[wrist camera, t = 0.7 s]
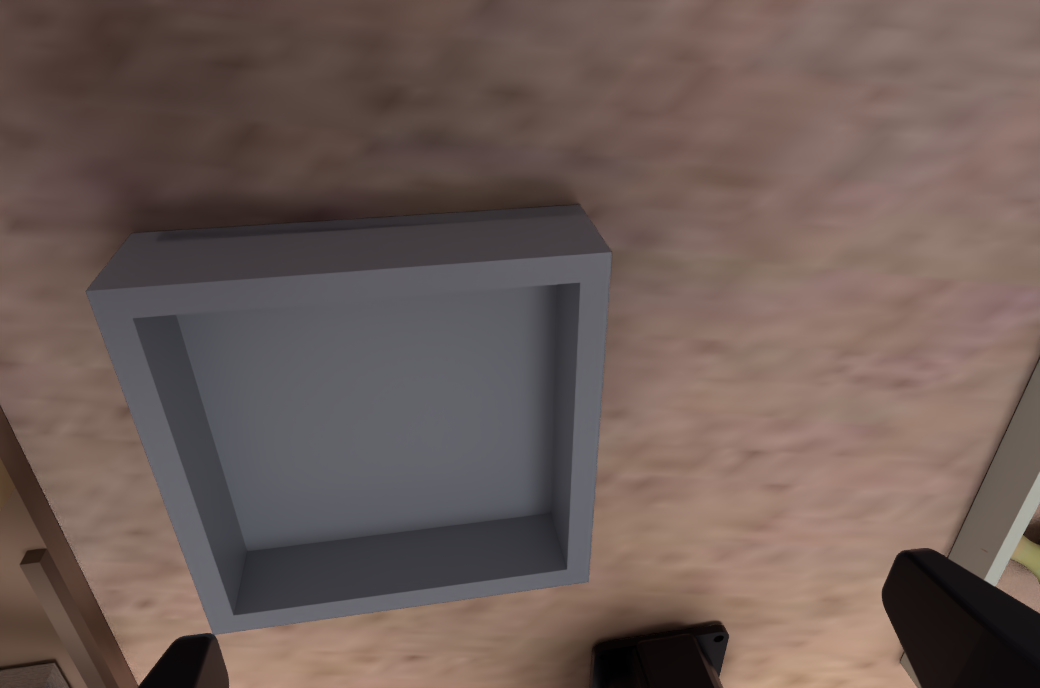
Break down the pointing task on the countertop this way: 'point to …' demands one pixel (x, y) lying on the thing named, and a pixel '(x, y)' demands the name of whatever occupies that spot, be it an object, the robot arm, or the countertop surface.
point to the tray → (367, 405)
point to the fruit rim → (1002, 498)
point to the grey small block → (33, 677)
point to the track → (47, 587)
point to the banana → (1027, 555)
